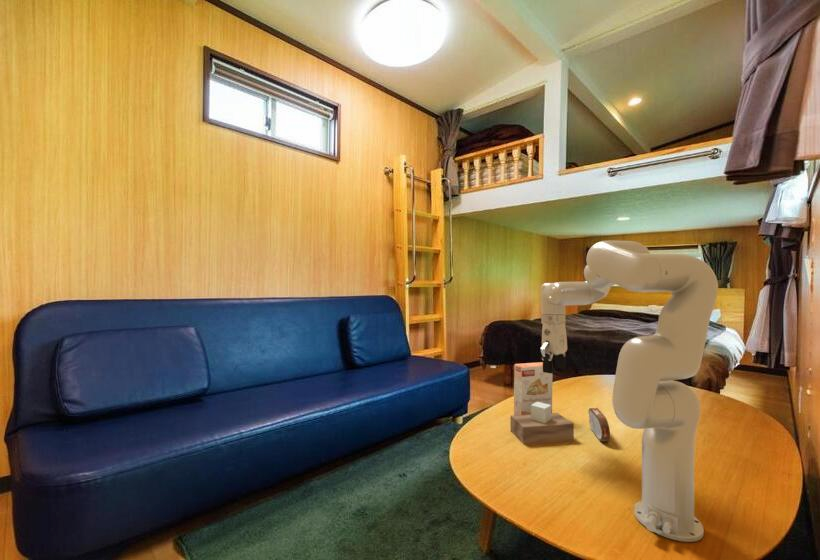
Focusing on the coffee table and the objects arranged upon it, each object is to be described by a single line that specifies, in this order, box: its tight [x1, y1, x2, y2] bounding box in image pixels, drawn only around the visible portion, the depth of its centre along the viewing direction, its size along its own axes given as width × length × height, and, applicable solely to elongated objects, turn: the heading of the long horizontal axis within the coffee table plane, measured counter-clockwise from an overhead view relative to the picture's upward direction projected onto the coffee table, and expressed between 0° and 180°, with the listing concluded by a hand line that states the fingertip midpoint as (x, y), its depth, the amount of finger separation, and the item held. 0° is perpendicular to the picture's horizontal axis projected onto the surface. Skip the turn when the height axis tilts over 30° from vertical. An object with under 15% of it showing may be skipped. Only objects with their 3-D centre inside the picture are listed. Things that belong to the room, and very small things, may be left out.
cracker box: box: [513, 361, 554, 415], centre depth 140 cm, size 14×6×21 cm, turn 105°
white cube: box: [531, 402, 551, 423], centre depth 124 cm, size 5×5×5 cm
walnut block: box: [510, 412, 575, 445], centre depth 123 cm, size 10×18×6 cm, turn 98°
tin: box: [588, 407, 611, 443], centre depth 123 cm, size 15×3×8 cm, turn 168°
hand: (554, 370), depth 119 cm, fingers open, 9 cm apart
